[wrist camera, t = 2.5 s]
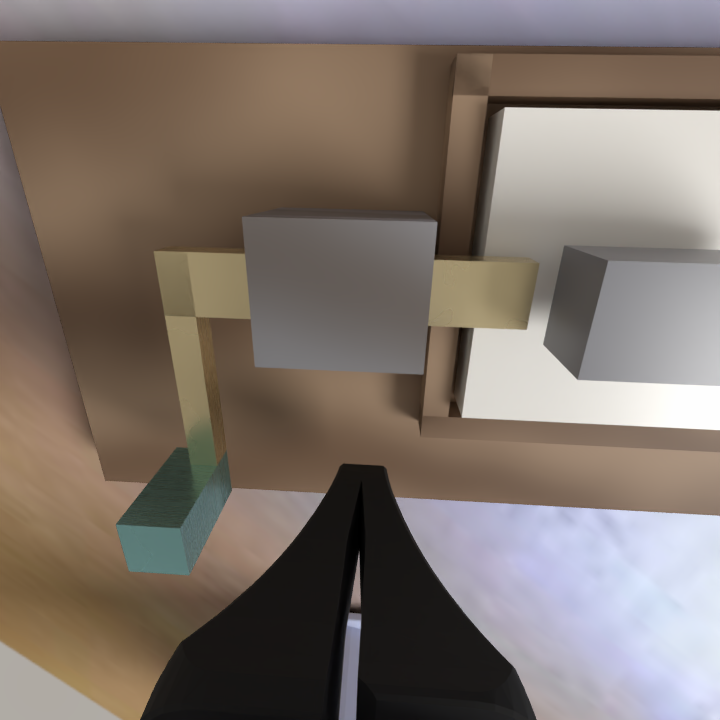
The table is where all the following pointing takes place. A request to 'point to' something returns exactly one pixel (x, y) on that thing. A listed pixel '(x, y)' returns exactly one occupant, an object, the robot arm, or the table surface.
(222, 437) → the latch bolt
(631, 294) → the cover
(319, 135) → the walnut base
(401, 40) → the table surface
